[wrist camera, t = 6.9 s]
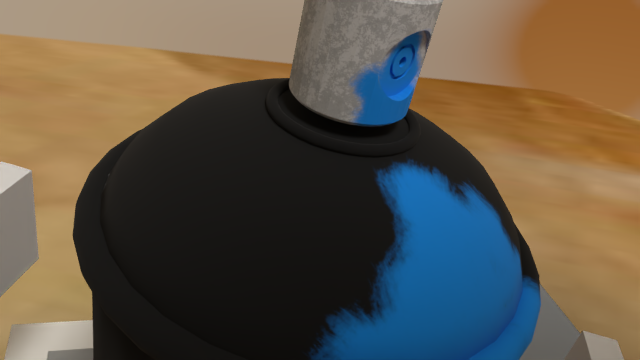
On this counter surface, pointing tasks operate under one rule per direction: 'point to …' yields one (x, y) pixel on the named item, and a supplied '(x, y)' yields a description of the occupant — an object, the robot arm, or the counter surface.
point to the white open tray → (51, 341)
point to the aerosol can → (307, 216)
